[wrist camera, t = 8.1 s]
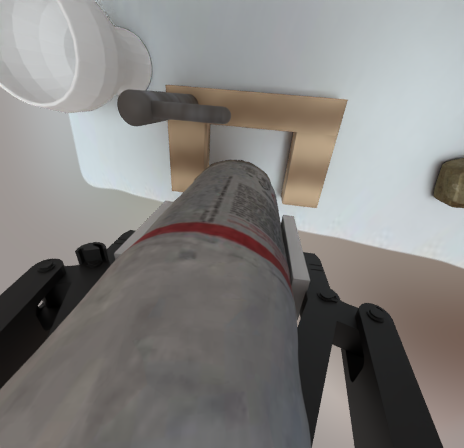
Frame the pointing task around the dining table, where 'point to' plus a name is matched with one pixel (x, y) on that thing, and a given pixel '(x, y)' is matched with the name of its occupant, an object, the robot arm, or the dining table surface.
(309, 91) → the dining table surface
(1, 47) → the cup
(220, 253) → the spray can
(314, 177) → the wooden stand
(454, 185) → the stone block
